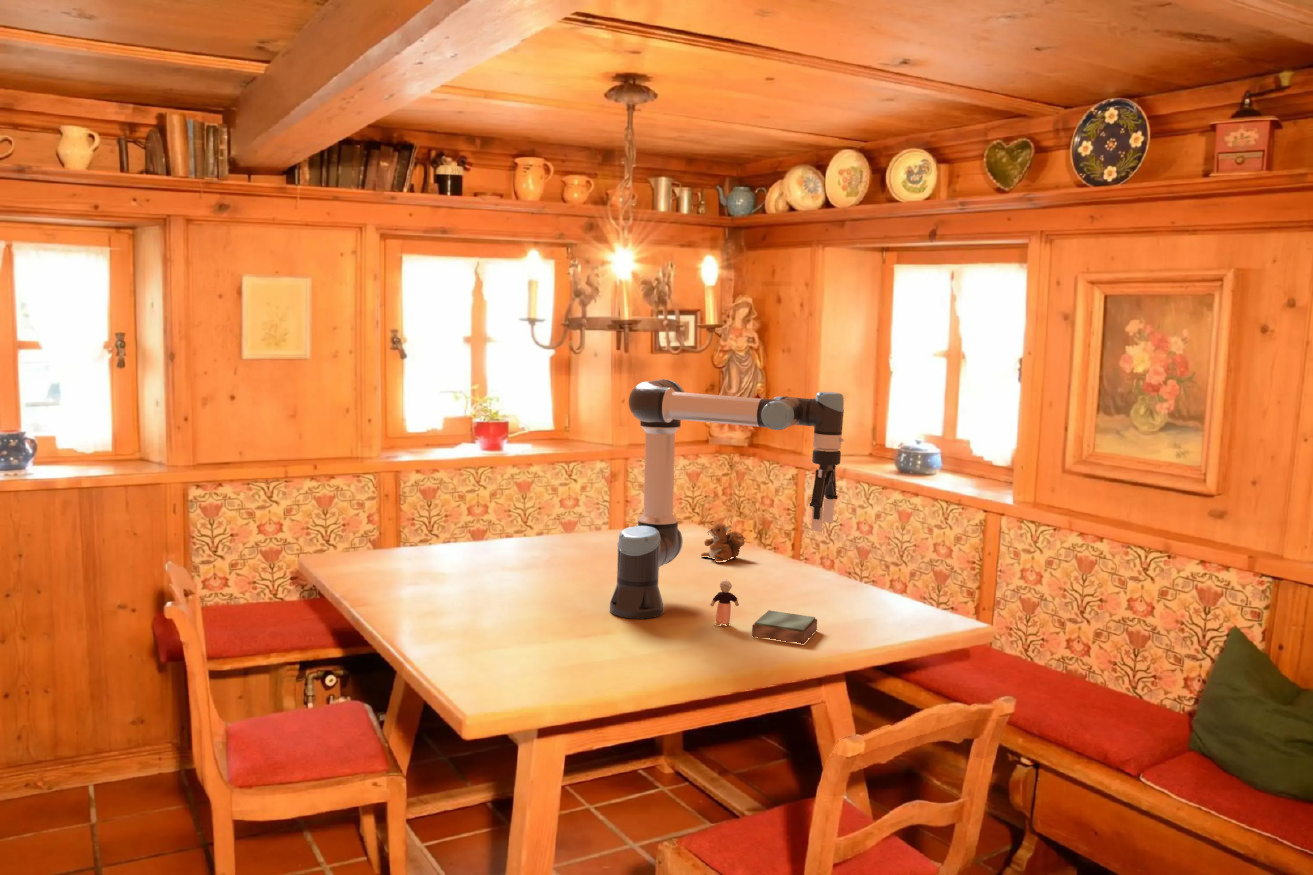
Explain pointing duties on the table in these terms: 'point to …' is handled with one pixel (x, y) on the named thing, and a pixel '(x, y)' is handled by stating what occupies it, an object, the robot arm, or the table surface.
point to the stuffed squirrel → (723, 543)
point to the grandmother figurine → (724, 603)
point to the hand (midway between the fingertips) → (822, 526)
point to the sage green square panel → (784, 627)
